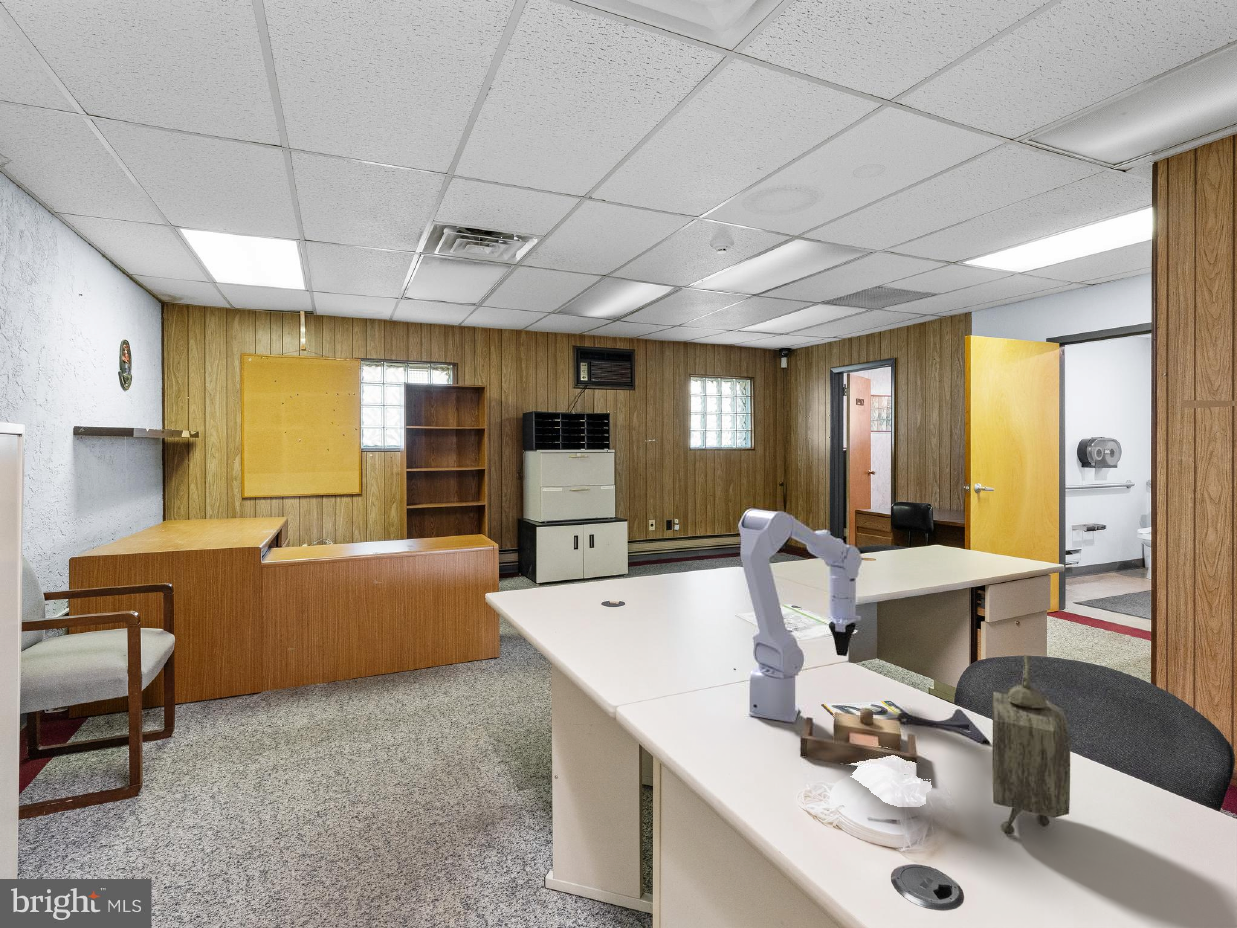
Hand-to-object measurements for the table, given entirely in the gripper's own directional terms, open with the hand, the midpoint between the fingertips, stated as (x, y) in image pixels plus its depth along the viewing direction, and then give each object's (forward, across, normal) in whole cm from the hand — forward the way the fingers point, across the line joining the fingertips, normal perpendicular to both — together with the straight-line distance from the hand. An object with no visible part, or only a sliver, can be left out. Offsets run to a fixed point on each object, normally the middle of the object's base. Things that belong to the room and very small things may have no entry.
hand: (842, 654), depth 143 cm
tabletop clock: (+10, -41, -29) cm, 51 cm away
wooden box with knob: (+10, -21, -6) cm, 24 cm away
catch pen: (+9, -28, -4) cm, 30 cm away
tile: (+10, -27, -6) cm, 29 cm away
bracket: (+10, -9, -19) cm, 23 cm away
